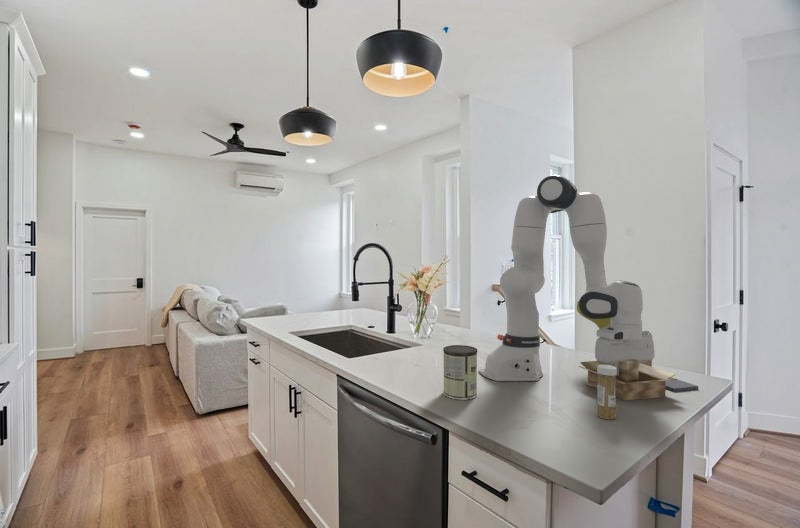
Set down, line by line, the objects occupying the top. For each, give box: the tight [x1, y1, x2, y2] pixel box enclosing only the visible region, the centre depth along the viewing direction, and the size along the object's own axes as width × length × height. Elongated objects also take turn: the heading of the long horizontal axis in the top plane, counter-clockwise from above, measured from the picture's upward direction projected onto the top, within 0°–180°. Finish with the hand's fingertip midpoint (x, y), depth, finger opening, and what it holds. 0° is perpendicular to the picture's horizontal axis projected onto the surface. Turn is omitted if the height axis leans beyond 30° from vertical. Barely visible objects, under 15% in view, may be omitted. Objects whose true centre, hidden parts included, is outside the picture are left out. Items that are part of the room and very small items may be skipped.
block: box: [616, 359, 639, 383], centre depth 126 cm, size 4×6×10 cm
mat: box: [666, 377, 699, 392], centre depth 131 cm, size 10×10×1 cm
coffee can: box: [442, 344, 478, 401], centre depth 121 cm, size 10×10×14 cm
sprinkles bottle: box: [596, 365, 617, 420], centre depth 105 cm, size 5×5×14 cm
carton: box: [578, 360, 678, 401], centre depth 126 cm, size 23×23×6 cm
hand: (624, 374), depth 126 cm, fingers closed on block, 4 cm apart
